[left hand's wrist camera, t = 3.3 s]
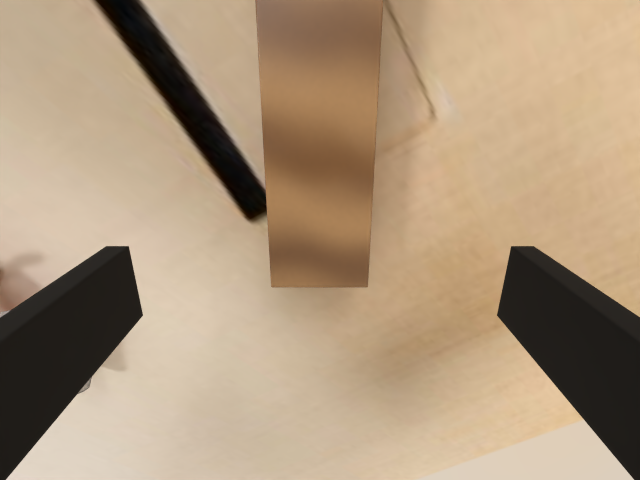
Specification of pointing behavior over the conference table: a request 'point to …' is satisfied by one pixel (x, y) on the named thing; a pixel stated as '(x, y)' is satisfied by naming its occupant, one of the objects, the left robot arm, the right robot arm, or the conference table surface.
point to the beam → (319, 136)
